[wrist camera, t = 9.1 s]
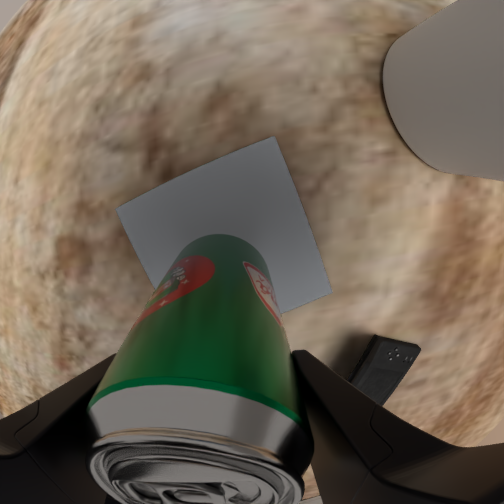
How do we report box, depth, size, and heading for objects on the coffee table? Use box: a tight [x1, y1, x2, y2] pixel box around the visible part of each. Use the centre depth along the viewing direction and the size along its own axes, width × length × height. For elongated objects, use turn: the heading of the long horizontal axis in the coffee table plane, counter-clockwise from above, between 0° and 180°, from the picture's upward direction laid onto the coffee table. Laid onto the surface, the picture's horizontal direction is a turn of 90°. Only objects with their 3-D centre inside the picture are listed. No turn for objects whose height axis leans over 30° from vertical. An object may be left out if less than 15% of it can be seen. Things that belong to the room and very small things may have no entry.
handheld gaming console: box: [347, 335, 421, 406], centre depth 23 cm, size 12×7×10 cm
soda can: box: [84, 234, 314, 504], centre depth 10 cm, size 5×5×12 cm
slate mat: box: [115, 136, 333, 314], centre depth 20 cm, size 12×12×1 cm
